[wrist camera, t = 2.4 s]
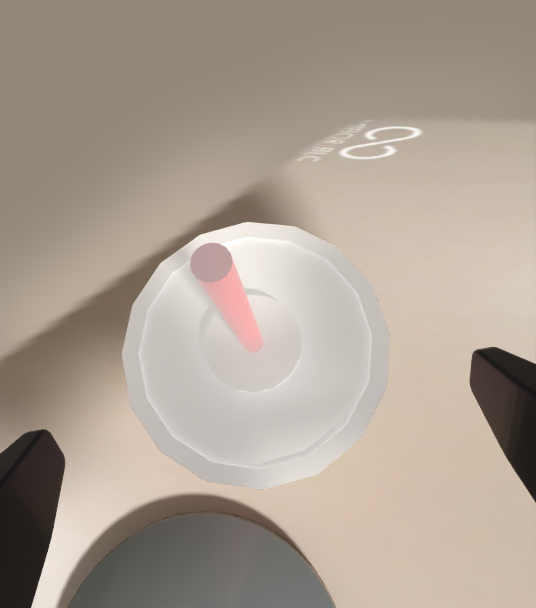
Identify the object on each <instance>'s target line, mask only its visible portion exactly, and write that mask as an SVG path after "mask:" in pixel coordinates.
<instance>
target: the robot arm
mask: <svg viewBox="0 0 536 608" xmlns="http://www.w3.org/2000/svg"><path fill="white" fill-rule="evenodd" d="M470 387H471V390H472V392H473V394H474V396H475V398H476V400H477V402H478V404H479V406H480V408H481V410H482V412H483V414H484V416H485V418H486V420H487V422H488V423H489V425H490V427H491V429H492V431H493V433H494V435H495V437H496V439H497V441H498V443H499V445H500V447H501V449H502V450H503V452H504V454H505V456H506V457H507V459H508V461H509V462H510V464H511V466H512V467H513V469H514V470H515V472H516V473H517V475H518V476H519V478H520V479H521V481H522V482H523V484H524V485H525V487H526V488H527V490H528V491H529V493H530V494H531V496H532V498H533V499H534V501H535V502H536V364H535V363H532V362H530V361H528V360H525V359H523V358H520V357H518V356H516V355H513V354H511V353H509V352H506V351H504V350H502V349H499V348H497V347H488V348H483V349H478V350H475V351H474V352H473V354H472V361H471V371H470ZM64 469H65V458H64V455H63V453H62V451H61V449H60V448H59V446H58V444H57V443H56V441H55V440H54V438H53V436H52V435H51V433H50V432H49V431H48V430H44V429H42V430H37V431H31V432H27V433H25V434H23V435H22V436H21V437H20V438H19V439H17V440H16V441H15V442H14V443H13V444H11V445H10V446H9V447H8V448H7V449H5V450H4V451H3V452H2V453H1V454H0V608H31V606H32V603H33V599H34V596H35V593H36V589H37V586H38V582H39V579H40V576H41V572H42V569H43V565H44V562H45V559H46V555H47V552H48V548H49V544H50V541H51V537H52V532H53V528H54V523H55V517H56V512H57V507H58V501H59V496H60V491H61V485H62V480H63V475H64Z"/></svg>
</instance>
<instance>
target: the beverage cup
mask: <svg viewBox="0 0 536 608" xmlns="http://www.w3.org/2000/svg"><path fill="white" fill-rule="evenodd" d="M389 339H390V333H389V330H388V327H387V324H386V321H385V319H384V316H383V313H382V310H381V308H380V305H379V302H378V299H377V297H376V294H375V291H374V288H373V286H372V284H371V283H370V282H369V281H368V280H367V278H366V277H365V276H364V275H363V274H362V273H361V272H360V271H359V270H358V269H357V267H356V266H355V265H354V264H353V263H352V262H351V261H350V260H349V259H348V258H347V256H346V255H345V254H344V253H343V252H342V251H341V250H340V249H339V248H338V247H336V246H334V245H332V244H330V243H328V242H326V241H324V240H322V239H320V238H318V237H316V236H314V235H312V234H309V233H307V232H305V231H303V230H301V229H299V228H297V227H295V226H286V225H275V224H264V223H253V222H245V223H241V224H237V225H234V226H230V227H226V228H223V229H219V230H216V231H212V232H208V233H205V234H201V235H199V236H198V237H196V238H195V239H193V240H192V241H191V242H189V243H188V244H186V245H185V246H184V247H182V248H181V249H179V250H178V251H177V252H175V253H174V254H172V255H171V256H170V257H168V258H167V259H166V260H164V261H163V262H161V263H160V264H159V266H158V267H157V269H156V270H155V272H154V273H153V275H152V276H151V278H150V279H149V281H148V282H147V284H146V285H145V287H144V288H143V290H142V291H141V293H140V294H139V296H138V297H137V299H136V300H135V302H134V303H133V305H132V310H131V314H130V319H129V323H128V327H127V332H126V336H125V341H124V345H123V350H122V360H123V366H124V372H125V378H126V384H127V390H128V396H129V402H130V406H131V408H132V409H133V411H134V412H135V414H136V416H137V417H138V419H139V420H140V422H141V423H142V425H143V426H144V428H145V430H146V431H147V433H148V434H149V436H150V437H151V439H152V440H153V442H154V443H155V445H156V447H157V448H158V450H159V451H160V452H162V453H163V454H165V455H166V456H168V457H169V458H171V459H172V460H174V461H175V462H177V463H178V464H180V465H181V466H183V467H185V468H186V469H188V470H189V471H191V472H192V473H194V474H195V475H197V476H198V477H200V478H201V479H203V480H205V481H206V482H213V483H219V484H226V485H233V486H239V487H246V488H252V489H259V490H264V489H268V488H271V487H275V486H278V485H282V484H285V483H289V482H293V481H296V480H300V479H303V478H307V477H310V476H314V475H317V474H319V473H320V472H321V471H323V470H324V469H325V468H326V467H327V466H329V465H330V464H331V463H332V462H333V461H335V460H336V459H337V458H338V457H339V456H340V455H342V454H343V453H344V452H345V451H346V450H348V449H349V448H350V447H351V446H352V445H354V444H355V443H356V442H357V441H358V440H360V439H361V438H362V437H363V435H364V433H365V431H366V429H367V427H368V425H369V423H370V421H371V418H372V416H373V414H374V412H375V410H376V408H377V406H378V404H379V402H380V400H381V398H382V396H383V394H384V392H385V390H386V388H387V377H388V358H389Z"/></svg>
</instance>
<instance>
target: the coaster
mask: <svg viewBox="0 0 536 608" xmlns="http://www.w3.org/2000/svg"><path fill="white" fill-rule="evenodd" d="M68 608H336V606H335V603H334V601H333V599H332V598H331V596H330V594H329V592H328V590H327V588H326V586H325V584H324V583H323V581H322V580H321V578H320V577H319V575H318V574H317V573H316V571H315V570H314V568H313V567H312V566H311V564H310V563H309V562H308V561H307V560H306V559H305V558H304V556H303V555H302V554H301V553H300V552H299V551H298V550H297V549H296V548H295V547H293V546H292V545H291V544H290V543H289V542H288V541H287V540H285V539H284V538H283V537H281V536H280V535H278V534H277V533H275V532H274V531H272V530H271V529H269V528H267V527H265V526H263V525H261V524H259V523H257V522H255V521H253V520H250V519H247V518H244V517H241V516H238V515H234V514H228V513H222V512H205V511H199V512H191V513H183V514H179V515H176V516H172V517H168V518H165V519H163V520H160V521H158V522H156V523H153V524H151V525H149V526H147V527H145V528H144V529H142V530H140V531H139V532H137V533H135V534H134V535H132V536H131V537H129V538H128V539H127V540H125V541H124V542H123V543H121V544H120V545H119V546H118V547H116V548H115V549H114V550H113V551H111V552H110V553H109V554H108V555H107V556H106V557H105V558H104V559H103V560H102V561H101V562H100V563H99V564H98V565H97V566H96V567H95V568H94V569H93V571H92V572H91V573H90V575H89V576H88V577H87V578H86V580H85V581H84V582H83V584H82V585H81V587H80V588H79V590H78V591H77V593H76V595H75V596H74V598H73V600H72V601H71V603H70V605H69V607H68Z"/></svg>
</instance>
